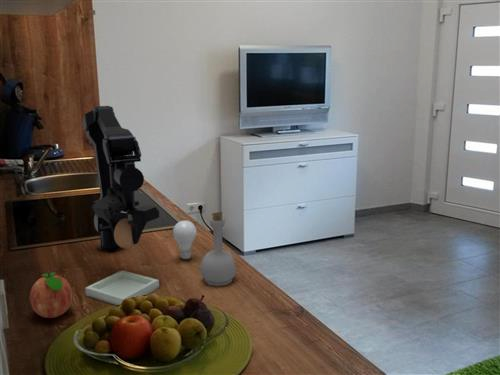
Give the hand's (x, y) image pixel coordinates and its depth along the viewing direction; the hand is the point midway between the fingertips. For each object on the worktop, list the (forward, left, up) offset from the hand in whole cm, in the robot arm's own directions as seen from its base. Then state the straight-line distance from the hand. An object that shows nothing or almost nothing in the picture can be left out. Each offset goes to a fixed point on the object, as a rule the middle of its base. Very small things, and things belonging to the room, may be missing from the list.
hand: (126, 241), depth 135 cm
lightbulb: (+8, +14, -8) cm, 18 cm away
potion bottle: (+24, +7, -8) cm, 26 cm away
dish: (+8, -10, -8) cm, 15 cm away
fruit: (+3, -26, -8) cm, 27 cm away
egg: (0, 0, -2) cm, 2 cm away
